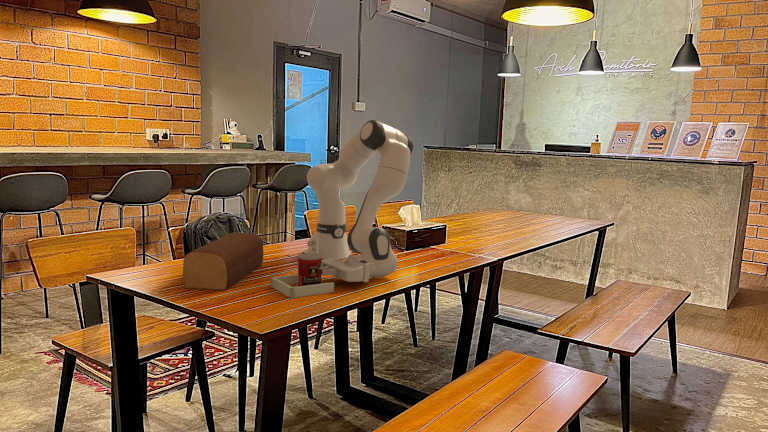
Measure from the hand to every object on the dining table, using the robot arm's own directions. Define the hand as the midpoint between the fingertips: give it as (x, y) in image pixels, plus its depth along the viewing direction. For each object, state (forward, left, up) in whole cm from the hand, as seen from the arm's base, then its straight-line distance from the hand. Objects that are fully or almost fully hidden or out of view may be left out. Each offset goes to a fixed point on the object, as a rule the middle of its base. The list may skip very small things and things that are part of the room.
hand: (320, 272), depth 197 cm
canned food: (0, -4, -5) cm, 7 cm away
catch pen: (0, -6, -5) cm, 8 cm away
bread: (-29, -22, -6) cm, 37 cm away
